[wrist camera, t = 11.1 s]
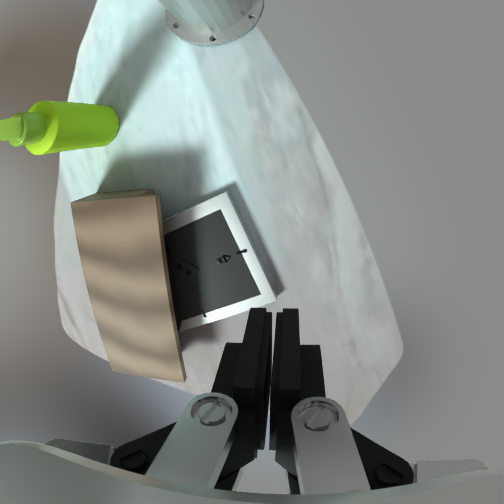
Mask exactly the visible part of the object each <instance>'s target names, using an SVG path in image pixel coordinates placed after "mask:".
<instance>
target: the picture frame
mask: <svg viewBox="0 0 504 504" xmlns="http://www.w3.org/2000/svg"><path fill="white" fill-rule="evenodd" d="M162 225H163V234H164V243H165V251H166V259H167V266H168V274H169V281H170V287H171V294H172V301H173V307H174V313H175V319H176V325H177V331H178V333H179V332H181V331H184V330H188V329H191V328H194V327H198V326H201V325H204V324H207V323H211V322H214V321H217V320H220V319H223V318H226V317H230V316H233V315H236V314H239V313H242V312H245V311H248V310H250V308H257V307H260V306H263V305H266V304H269V303H272V302H275V301H277V294H276V292H275V289H274V287H273V285H272V283H271V281H270V279H269V276H268V274H267V272H266V270H265V268H264V266H263V263H262V261H261V259H260V257H259V255H258V253H257V250H256V248H255V246H254V244H253V242H252V240H251V238H250V235H249V233H248V231H247V229H246V227H245V225H244V222H243V220H242V218H241V216H240V214H239V212H238V210H237V207H236V205H235V203H234V201H233V199H232V197H231V194H230V192H229V190H227V191H225V192H222V193H220V194H218V195H216V196H214V197H211V198H209V199H207V200H205V201H203V202H201V203H198V204H196V205H194V206H192V207H190V208H188V209H186V210H184V211H181V212H179V213H177V214H175V215H173V216H171V217H169V218H167V219H165V220H163V221H162Z"/></svg>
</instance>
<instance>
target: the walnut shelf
mask: <svg viewBox="0 0 504 504" xmlns="http://www.w3.org/2000/svg"><path fill="white" fill-rule="evenodd" d="M71 208H72V215H73V221H74V227H75V233H76V238H77V244H78V249H79V254H80V259H81V264H82V268H83V273H84V277H85V281H86V285H87V289H88V293H89V297H90V301H91V305H92V308H93V312H94V315H95V319H96V322H97V326H98V329H99V332H100V336H101V339H102V342H103V345H104V348H105V351H106V354H107V357H108V360H109V363H110V365H111V368H112V371H115V372H120V373H126V374H131V375H137V376H142V377H148V378H155V379H161V380H168V381H176V382H185V380H186V378H187V377H186V372H185V367H184V362H183V357H182V352H181V347H180V342H179V336H178V331H177V325H176V319H175V313H174V307H173V301H172V294H171V287H170V281H169V274H168V266H167V259H166V251H165V243H164V234H163V225H162V215H161V205H160V194H157V195H154V190H153V189H143V190H129V191H117V192H105V193H96V194H93V195H90V196H87V197H84V198H82V199H79V200H76V201H74V202H71Z"/></svg>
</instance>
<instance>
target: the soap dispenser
mask: <svg viewBox="0 0 504 504" xmlns="http://www.w3.org/2000/svg"><path fill="white" fill-rule="evenodd" d="M118 129H119V118H118V115H117V113H116V112H115V110H114V109H113V108H111V107H109V106H104V105H94V104H84V103H72V102H57V101H40V102H37V103H36V104H35V105H33V106H32V107H31V108H30V110H29V111H28V112H27V113H26V112H23V113H16V114H15V115H14V116H13V117H12V118H8V119H3V120H0V141H3V140H9V142H10V143H11V144H12V145H13V146H23V145H25V146H26V147H27V149H28V150H29V151H30V152H31V153H32V154H35V155H42V154H48V153H54V152H61V151H68V150H76V149H84V148H92V147H101V146H106V145H108V144H109V143H111V142H112V141H113V140H114V138H115V137H116V135H117V132H118Z"/></svg>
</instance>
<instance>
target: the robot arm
mask: <svg viewBox="0 0 504 504" xmlns="http://www.w3.org/2000/svg"><path fill="white" fill-rule="evenodd" d="M158 1H159V2H160V3H161V4H162V5H163V6H164V7H165V8H166V10H165V13H166V20H167V23H168V25H169V27H170V28H171V30H172V31H173V32H174V33H175V34H176V35H177V36H178V37H180V38H181V39H182V40H184V41H186V42H188V43H191V44H195V45H199V46H217V45H221V44H226V43H229V42H231V41H234V40H236V39H238V38H240V37H241V36H243V35H245V34H246V33H247V32H248V31H250V30H251V29H252V28H253V27H254V25H255V24H256V23H257V22H258V20H259V18H260V17H261V14H262V11H263V8H264V0H158ZM252 17H254V19H250V18H252ZM177 26H179V27H178V28H177ZM213 39H216V40H215V41H212V40H213ZM271 374H272V377H271ZM270 386H271V390H270ZM269 397H270V441H269V450H276V455H275V461H276V462H277V463H279V464H280V465H281V466H282V467H283V468H285V469H286V481H287V489H288V495H287V494H286V495H284V494H261V493H247V492H236V489H237V487H238V484H239V481H240V479H241V476H242V473H243V468H244V466H245V465H246V464H248V463H249V462H251V461H253V460H254V458H257V451H258V449H261V450H264V446H265V437H266V427H267V417H268V407H269ZM0 504H504V469H487V467H486V466H485V465H484V464H483V463H482V462H480V461H478V460H471V459H469V460H450V461H417V463H416V464H409V463H408V462H407V461H405V460H404V459H403V458H401V457H399V456H397V455H395V454H394V453H392V452H390V451H389V450H387V449H385V448H383V447H382V446H380V445H378V444H377V443H375V442H373V441H372V440H370V439H368V438H367V437H365V436H363V435H362V434H360V433H358V432H357V431H355V430H353V429H352V428H350V426H349V423H348V420H347V418H346V415H345V412H344V410H343V408H342V407H341V406H340V405H339V404H338V403H337V402H336V401H334V400H331V399H329V398H326V396H325V386H324V376H323V367H322V358H321V350H320V345H300V337H299V311H298V309H289V308H283V312H277V316H276V329H275V342H274V354H273V365H272V312H266V308H250V312H249V316H248V321H247V325H246V330H245V334H244V338H243V343H229V342H227V343H226V345H225V348H224V351H223V354H222V358H221V361H220V364H219V368H218V371H217V374H216V378H215V381H214V384H213V388H212V391H211V393H204V394H201V395H198V396H196V397H195V398H193V399H192V400H191V401H190V402H189V403H188V404H187V406H186V408H185V409H184V411H183V413H182V414H181V416H180V418H179V419H178V421H177V422H175V423H173V424H171V425H168V426H167V427H164V428H162V429H159V430H157V431H155V432H153V433H150V434H148V435H145V436H143V437H141V438H138V439H136V440H134V441H131V442H128V443H126V444H124V445H122V446H120V447H118V448H113V447H112V446H111V445H107V444H96V443H88V442H80V441H72V440H66V439H53V440H51V441H48V442H47V443H46V444H40V443H35V442H28V441H16V440H15V441H4V442H0Z"/></svg>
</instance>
